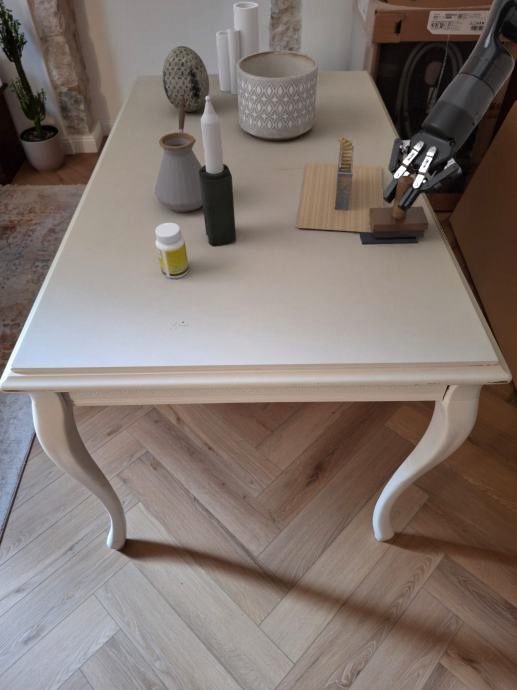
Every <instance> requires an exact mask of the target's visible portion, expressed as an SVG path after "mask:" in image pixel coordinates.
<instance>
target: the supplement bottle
mask: <svg viewBox="0 0 517 690" xmlns="http://www.w3.org/2000/svg"><path fill="white" fill-rule="evenodd" d="M154 232H155V238H156V239H155V248H156V253H157V257H158V262H159V266H160V270H161V273H162V275H163V276H164V277H166V278H168V279H181V278H182V277H184V276H186V275H187V274H188V273H189V270H190V265H189V258H188V253H187V246H186V241H185V237H184V236H183V235H182V231H181V227H180V225H178V224H177V223H175V222H164V223H161V224H159V225H158V226H157V227H156V228H155V231H154Z"/></svg>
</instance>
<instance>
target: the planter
mask: <svg viewBox="0 0 517 690" xmlns="http://www.w3.org/2000/svg"><path fill="white" fill-rule="evenodd" d="M236 69H237V89H238V95H237V106H238V125H239V126H240V128H241V129H242V130H243V131H245V132H246V133H247V134H250V135H252V136H253V137H255V138H257V139H261V140H267V141H286V140H291V139H295V138H297V137H300V136H301V135H303V134H305V133H307V132H308V131H310V130H311V129H312V128H313V126H314V125H315V119H316V118H315V117H316V100H317V87H318V86H317V85H318V70H319V62H318V60H317V59H316V58H314V57H313V56H311V55H309V54H307V53H302V52H300V51H293V50H283V49H282V50H279V49H278V50H265V51H259V52H258V53H253V54H250V55H247V56H245V57H243V58H241V59H240V60H239V61H238V62H237V65H236Z"/></svg>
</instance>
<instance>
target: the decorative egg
mask: <svg viewBox="0 0 517 690" xmlns="http://www.w3.org/2000/svg"><path fill="white" fill-rule="evenodd" d="M208 73H209V72H208V69H207V67H206V65H205V62H204V61H203V59H202V58H201V56H200V55H199V53H197V52H196V51H195V50H194V49H192V48H190V47H188V46H186V45H185V46H184V45H180V46H177V47H174V48H172V49H171V50H170V52H169V53H168V54H167V55H166V58H165V60H164V63H163V67H162V86H163V90H164V94H165V96H166V97H167V98H166V99H168V101H169V102H170V104H171V105H172V106H174V108H176V109H177V110H179V111H180V106H179V104H180V103H181V99H179V98H181V97H182V96H184V97H186V98H188V99H189V100H190V101H189V100H188V99H186V98H185V102H184V104H186V103H188V102H189V103H188V104H186V107H185V108H184V110H185V113H186V112H187V113H192V112H195V111H197V110H199V109H200V108H202V107H203V106H204V104H206V100H205V98H206V96H209V93H210V79H209V74H208ZM178 100H179V102H180V103H179V102H178Z"/></svg>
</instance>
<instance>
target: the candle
mask: <svg viewBox="0 0 517 690" xmlns="http://www.w3.org/2000/svg"><path fill="white" fill-rule="evenodd" d="M205 100H206V101H205V105H204V111H203V114H202V116H201V117H200V125H201V126H200V127H201V136H202V146H203V156H204V165H203V166H202V168H201V169H200V170H199V178H200V186H201V194H202V203H203V205H202V209H203V211H202V212H203V218H204V226H205V227H204V228H205V235H206V236H207V240H208V245H210V246H212V247H219V246H225V245H231V244H234V243H235V242H236V241H237V234H236V233H237V232H236V231H237V230H236V218H235V204H234V189H233V188H234V187H233V175H232V172H231V171H230V168H229V166H228V165H227V164H226V163H224V158H223V156H224V155H223V145H222V133H221V132H222V131H221V120H220V119H221V118H220V117H219V115H218V114H217V113H216V111H215V109H214V106H213V104H212V97H211V96H210V95H208V96H206V98H205Z"/></svg>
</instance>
